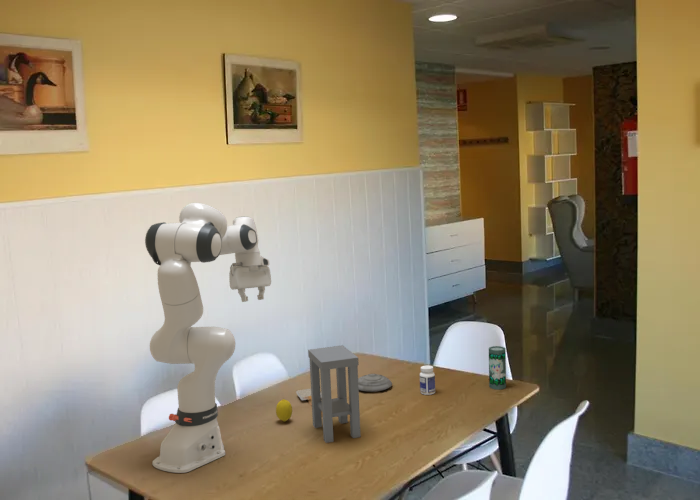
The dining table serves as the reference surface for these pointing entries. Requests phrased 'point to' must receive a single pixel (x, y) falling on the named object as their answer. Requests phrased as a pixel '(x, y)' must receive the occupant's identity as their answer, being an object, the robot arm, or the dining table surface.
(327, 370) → the stool
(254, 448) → the dining table surface
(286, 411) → the lemon
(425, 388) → the pill bottle
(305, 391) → the turner
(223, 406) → the dining table surface
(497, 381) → the can
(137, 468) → the dining table surface
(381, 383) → the flying saucer
